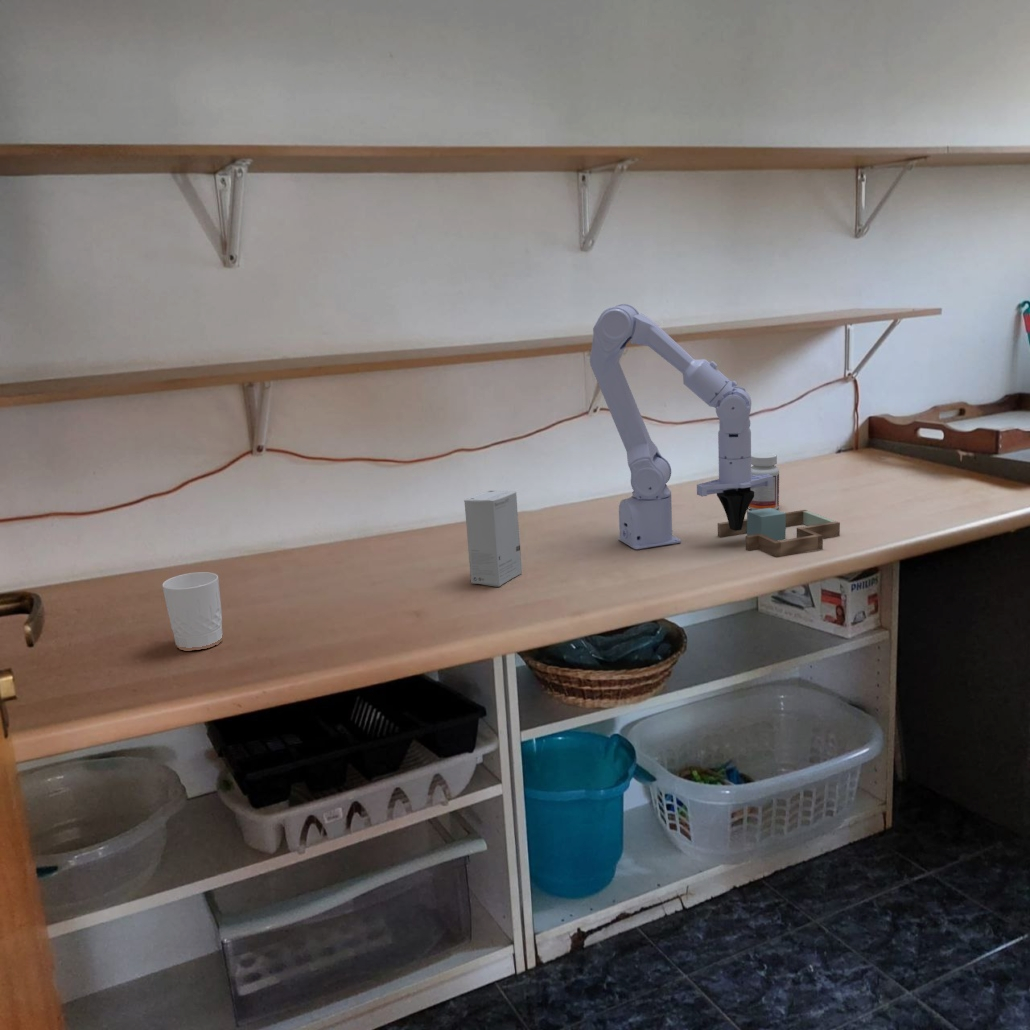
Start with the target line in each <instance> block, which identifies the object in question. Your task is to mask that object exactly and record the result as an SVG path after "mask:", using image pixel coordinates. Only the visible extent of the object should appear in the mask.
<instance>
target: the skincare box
mask: <svg viewBox="0 0 1030 1030" xmlns="http://www.w3.org/2000/svg"><path fill="white" fill-rule="evenodd" d="M517 497H518V496H517V491H512V490H509V491H508V490H488V491H484V492H482V493H478V494H475V495H473V496H471V497H468V498H466V499H464V500H463V501H464V511H465V514H464V515H465V523H466V524H465V525H466V534H467V535H466V536H467V548H468V561H469V573H470V575H469V576H470V583H471V584H474V585H477V584H478V585H483V586H489V587H496V588H499V587H501V586H503V584H506V583H507V582H509V581H511V580H512V579H513V578H515V577H517V576H520V575H522V572H523V568H522V553H521V541H520V540H521V539H520V527H519V526H520V525H519V524H520V523H519V514H518V502H517V501H518V500H517Z"/></svg>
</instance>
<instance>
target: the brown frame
mask: <svg viewBox="0 0 1030 1030" xmlns="http://www.w3.org/2000/svg"><path fill="white" fill-rule="evenodd" d="M804 511H808V510H807V509H802V510H801V509H800V510H793V511H789V512H785V513H786V527H794V526H799V525H800V526H799V527H796V537H794V538H787V539H785V540H779V541H776V540H774V539H772V538H770V537H767V536H765V535H763V534H755V535H748V536H747V535H745V550H746V551H749V552H750V551H755V550H760V551H762V552H764V553H766V554H768V555H770V556H773V557H775V558H778V557H784V556H789V555H790V556H791V555H794V554H796V555H797V554H801V553H802V554H803V553H807V552H812V551H814V552H815V551H818V550H819V551H821V550H823V549H824V547H823V545H824V539H828V538H834V537H840V534H841V533H840V532H841V522H839V521H836V520H835V521H836V522H830V523H823V524H817V525H811V526H807V525H804V524H803V512H804ZM801 525H804V526H801ZM743 534H747V518H744V521H743V525H742V530H737V531H735V530H732V529H730V527H729V523H728V521H723V522H718V523H717V537H719V538H724V537H725V538H726V537H731V536H736V535H743Z"/></svg>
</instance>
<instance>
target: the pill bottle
mask: <svg viewBox="0 0 1030 1030" xmlns="http://www.w3.org/2000/svg"><path fill="white" fill-rule="evenodd" d="M777 457H778V456H777V454H775V453H772V452H771V453H770V452H758V453H751V475H764V474H768V475H772V476H773V486H770V487H767V486H763V487H756V488H751V491H754V498H753V499H752V501H751V503H750V505H749V507H748V509H749V510H750V511H752V510H759V509H766V508H773V509H775V510H778V509H779V507H780V469H779V468H778V467H777V466H776V465H777V463H778V462H777V461H778V459H777Z"/></svg>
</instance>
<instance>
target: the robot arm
mask: <svg viewBox="0 0 1030 1030" xmlns="http://www.w3.org/2000/svg"><path fill="white" fill-rule="evenodd" d="M592 334H593V336H592V343H591V349H590V356H589V363H590V368H591V370H592V372H593V374H594V377H595V379H596V382H597V384H598V387H599V389H600V391H601V395H603V399H604V401H605V403H606V405H607V408H608V410H609V412H610V413H609V414H610V415H611V418H612V419H613V423H614V425H615V427H616V429H617V432H618V434H619V436H620V440H621V442H622V443H623V446H624V449H625V452H626V458H627V465H628V468H629V471H630V486H631V488H632V493H631V496H630V497H627V498H625V499H622V500H621V501H620V503H619V505H618V523H619V525H618V526H619V536H618V537H617V538H618V540H619V541H620V542H622V543H624V544H625V545H628V546H629V547H631V548H632V549H634V550H640V549H641V550H642V549H648V548H655V547H660V546H667V545H673V544H678V543H679V544H680V543H682V540H681V539H680V538H679V537H676V536H674V535H673V518H672V517H673V514H672V513H673V512H672V511H673V510H672V509H673V508H672V507H673V505H672V491H671V490H670V488H669V487H668V485H667V483H668V482H669V481H670V479H671V476H672V468H671V464H670V463H669V461H668V459H666V458H665V457H664V456H663V455H662V454H661V453H660V451H659V448H658V446H657V445H656V444H655V442H653V440H652V439H651V436H650V434H649V431H648V429H647V427H646V424H645V422H644V419H643V417H642V415H641V412H640V408H639V407H638V405H637V402H636V400H635V398H634V395H633V392H632V390H631V387H630V385H629V383H628V381H627V378H626V375H625V373H624V370H623V368H622V366H621V364H620V360H621V358H622V355H623V353H624V351H625V349H626V347H627V345H628V343H629V342H630V344H631V345H632V344H633V345H638V346H646V347H648V348H650V349H651V350H653V351H654V352H655V353H656V354H658V355H659V356H660V357H662V358H663V359H664V360H665V361H666V362H667V363H669V364H670V365H672V367H674V368H675V369H676V370H677V371H679V372H680V373H681V374H682V379H683V380H682V381H683V385H685V387H687V388H688V389H689V390H690V391H691V392H692V393H694V394H695V395H696V396H697V397H698V398H699V399H700V400H702V401H703V402H704V403H705V404H706V405H708V407H711V408H715V413H716V416H717V418H718V419H719V421H718V423H719V425H718V426H719V430H718V432H717V435H718V436H717V437H718V438H717V439H718V441H717V442H718V446H717V447H718V478H717V479H714V480H710V481H706V482H701V483H697V484H696V495H697V496H699V497H707V496H709V495H715V494H716V496H717V498H718V499H719V502H720V503H721V505H722V508H723V510H724V512H725V515H726V519H727V522H728V523H729V527H730V529H732V530H735V531H737V530H742V525H743V521H744V519H745V518H746V517H745V516H746V515H747V511H748V509H749V505H750V503H751V501H752V499H753V498H754V491H751V488H756V487H763V486H767V487H770V486H773V476H772V475H768V474H764V475H751V467H752V464H751V455H752V431H751V429H750V427H751V420H750V414H751V409H752V399H751V397H750V396H751V395H750V394H749V393H748V392H747V391H746V389H745V388H744V387H741V386H738V382H737V381H735V379H733V380H730V379H729V377H726V375H724V374H723V373H722V372H721V371H720V370H719V369H717V367H718V364H717V363H716V362H715V361H713V360H711V361H710V362H709V361H708V360H707V359H705V358H702V359H700V358H699V359H696V358H695V359H694V358H693V357H692V356H691V355H690V354H689V353H688V352H687V351H686V350H685V349H684V348H683V347H682V346H681V345H679V344H678V342H676V341H675V340H674V339H673V338H672V337H671V336H670V335H669V334H668V333H667V332H666V331H664V329H662V328H661V327H660V326H659V325H658V324H656V322H654V321H653V320H652V319H651V318H649V317H648V316H647V315H645V314H643V313H639V311H638V310H637V309H636V308H635V306H633V305H631V304H626V303H622V304H618V305H615V306H612V307H609V308H607V309H605V310H604V311H602V313H600V315H599V317H598V319H597V321H596V322H595V324H594V326H593V328H592Z"/></svg>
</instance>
